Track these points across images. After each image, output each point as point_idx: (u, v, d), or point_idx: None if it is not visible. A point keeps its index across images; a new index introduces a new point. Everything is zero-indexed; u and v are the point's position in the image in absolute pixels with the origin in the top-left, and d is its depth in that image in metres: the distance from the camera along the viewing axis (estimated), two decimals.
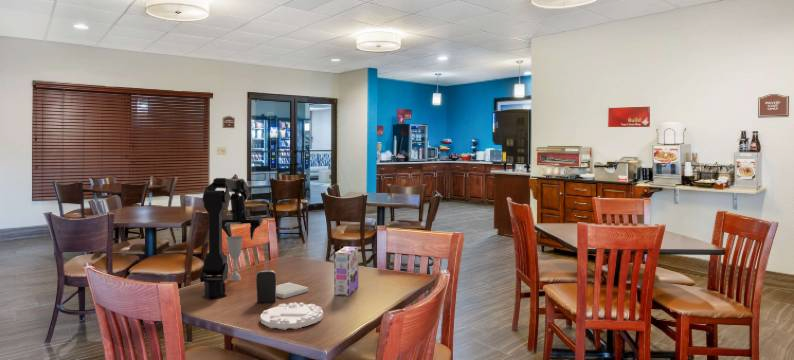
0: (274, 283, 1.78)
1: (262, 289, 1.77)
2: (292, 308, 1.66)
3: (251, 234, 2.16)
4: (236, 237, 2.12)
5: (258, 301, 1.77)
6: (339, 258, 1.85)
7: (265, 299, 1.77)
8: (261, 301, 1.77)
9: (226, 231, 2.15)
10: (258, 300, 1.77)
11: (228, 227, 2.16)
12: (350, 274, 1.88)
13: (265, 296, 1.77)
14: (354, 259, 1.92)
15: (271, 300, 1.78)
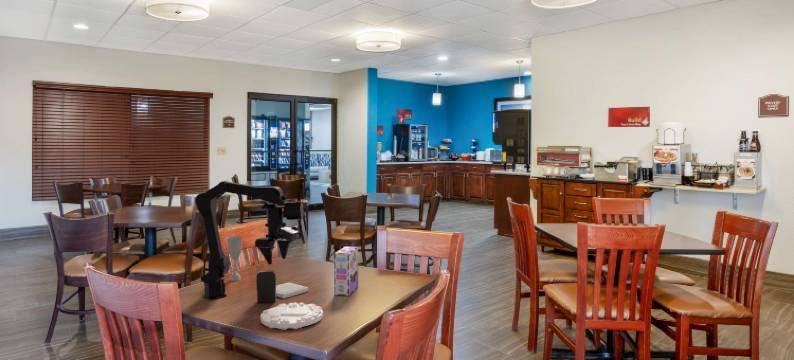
0: (274, 283, 1.78)
1: (262, 289, 1.77)
2: (292, 308, 1.66)
3: None
4: (236, 237, 2.12)
5: (258, 301, 1.77)
6: (339, 258, 1.85)
7: (265, 299, 1.77)
8: (261, 301, 1.77)
9: None
10: (258, 300, 1.77)
11: (282, 243, 1.89)
12: (350, 274, 1.88)
13: (265, 296, 1.77)
14: (354, 259, 1.92)
15: (271, 300, 1.78)
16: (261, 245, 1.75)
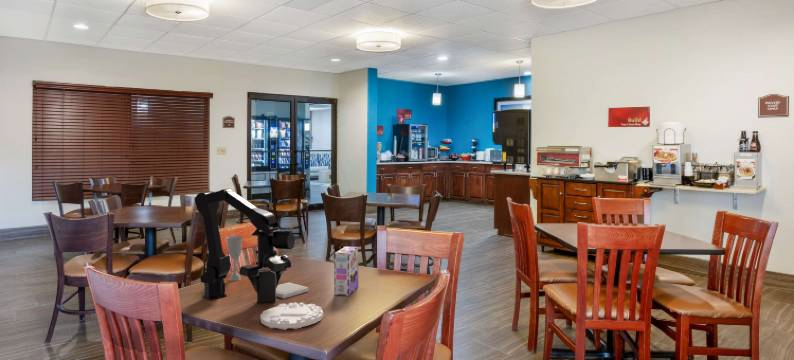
0: (274, 283, 1.78)
1: (262, 289, 1.77)
2: (292, 308, 1.66)
3: None
4: (236, 237, 2.12)
5: (258, 301, 1.77)
6: (339, 258, 1.85)
7: (265, 299, 1.77)
8: (261, 301, 1.77)
9: None
10: (258, 300, 1.77)
11: (275, 271, 1.82)
12: (350, 274, 1.88)
13: (265, 296, 1.77)
14: (354, 259, 1.92)
15: (271, 300, 1.78)
16: (243, 273, 1.71)
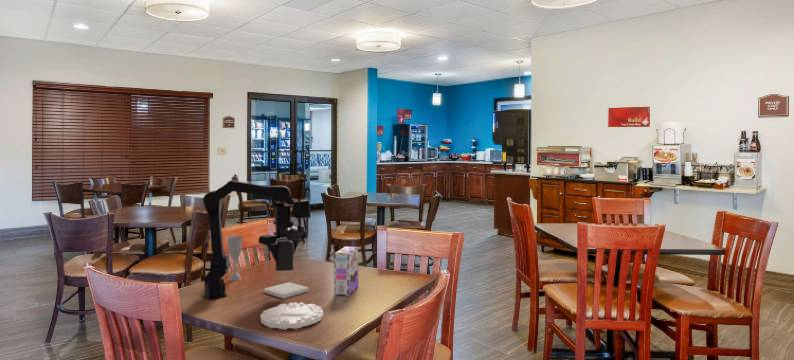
0: (292, 252, 1.87)
1: (280, 258, 1.87)
2: (292, 308, 1.66)
3: None
4: (236, 237, 2.12)
5: (277, 269, 1.87)
6: (339, 258, 1.85)
7: (283, 267, 1.87)
8: (279, 269, 1.87)
9: None
10: (276, 268, 1.87)
11: None
12: (350, 274, 1.88)
13: (283, 264, 1.87)
14: (354, 259, 1.92)
15: (289, 268, 1.87)
16: (262, 242, 1.81)
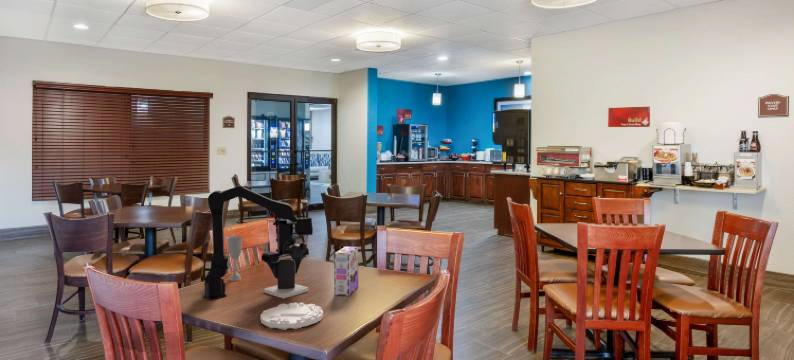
0: (293, 270, 1.89)
1: (282, 276, 1.89)
2: (292, 308, 1.66)
3: None
4: (236, 237, 2.12)
5: (279, 287, 1.89)
6: (339, 258, 1.85)
7: (285, 285, 1.89)
8: (281, 287, 1.89)
9: None
10: (278, 286, 1.89)
11: (295, 258, 1.95)
12: (350, 274, 1.88)
13: (285, 283, 1.89)
14: (354, 259, 1.92)
15: (290, 286, 1.90)
16: (265, 259, 1.83)
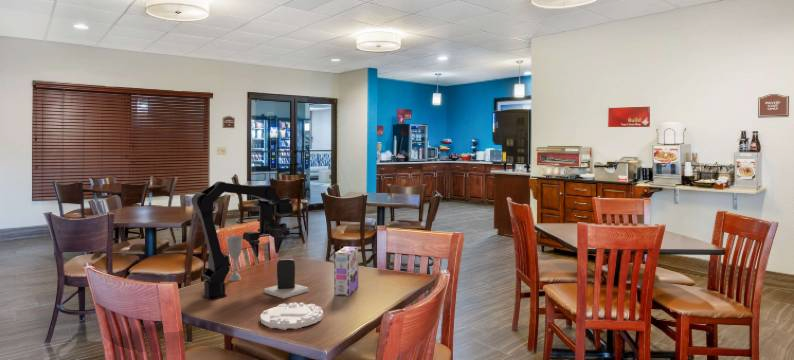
0: (293, 270, 1.89)
1: (282, 276, 1.89)
2: (292, 308, 1.66)
3: None
4: (236, 237, 2.12)
5: (279, 287, 1.89)
6: (339, 258, 1.85)
7: (285, 285, 1.89)
8: (281, 287, 1.89)
9: None
10: (278, 286, 1.89)
11: (276, 238, 2.02)
12: (350, 274, 1.88)
13: (285, 283, 1.89)
14: (354, 259, 1.92)
15: (290, 286, 1.90)
16: (246, 238, 1.90)
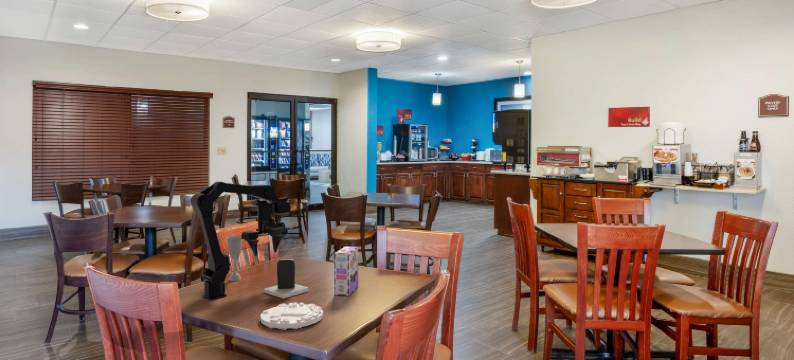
0: (293, 270, 1.89)
1: (282, 276, 1.89)
2: (292, 308, 1.66)
3: None
4: (236, 237, 2.12)
5: (279, 287, 1.89)
6: (339, 258, 1.85)
7: (285, 285, 1.89)
8: (281, 287, 1.89)
9: None
10: (278, 286, 1.89)
11: (274, 238, 2.02)
12: (350, 274, 1.88)
13: (285, 283, 1.89)
14: (354, 259, 1.92)
15: (290, 286, 1.90)
16: (245, 238, 1.91)
